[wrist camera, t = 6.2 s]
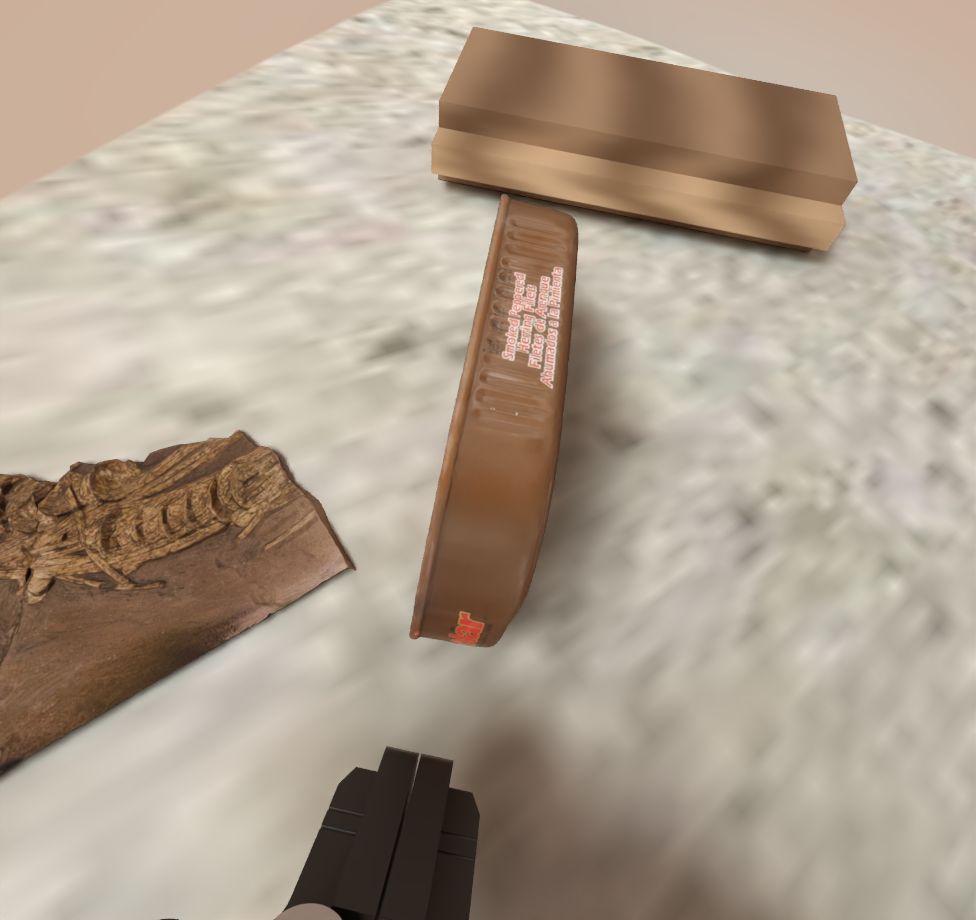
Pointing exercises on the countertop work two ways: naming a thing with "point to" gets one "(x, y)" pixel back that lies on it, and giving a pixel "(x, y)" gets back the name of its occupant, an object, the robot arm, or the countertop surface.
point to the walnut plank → (645, 140)
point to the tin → (502, 432)
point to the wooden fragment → (142, 575)
